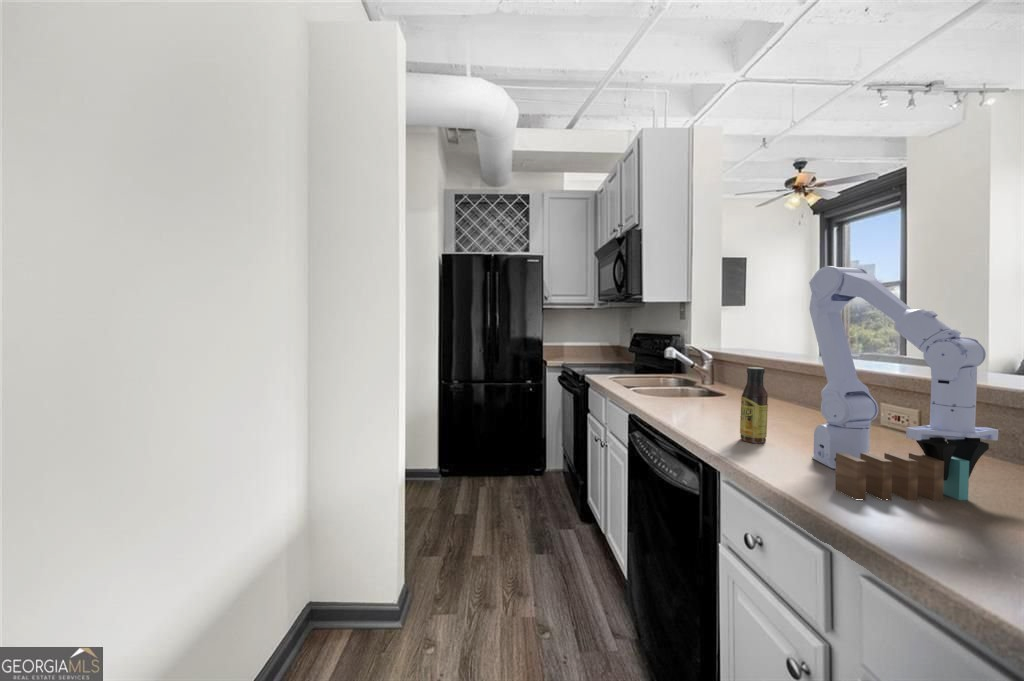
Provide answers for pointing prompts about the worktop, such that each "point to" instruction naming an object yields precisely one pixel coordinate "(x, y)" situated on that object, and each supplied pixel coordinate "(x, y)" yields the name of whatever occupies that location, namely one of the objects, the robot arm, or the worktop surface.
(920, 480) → the domino
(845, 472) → the domino
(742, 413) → the sauce bottle
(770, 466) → the worktop surface
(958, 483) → the domino
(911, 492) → the domino
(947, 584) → the worktop surface
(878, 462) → the domino
